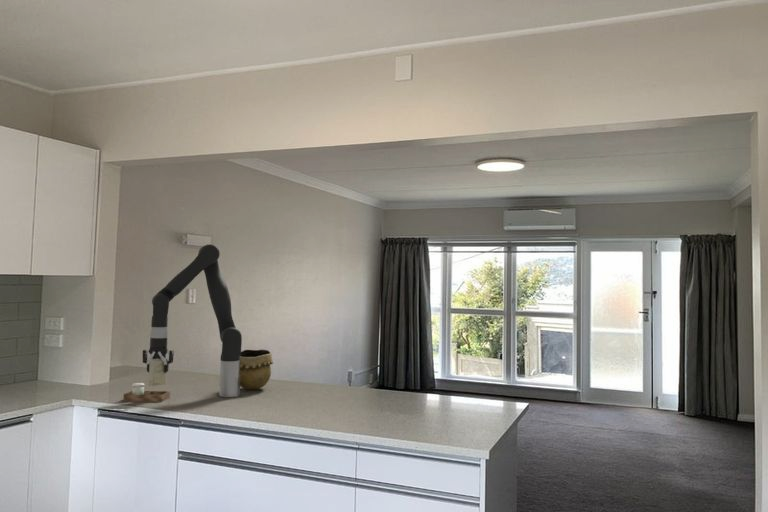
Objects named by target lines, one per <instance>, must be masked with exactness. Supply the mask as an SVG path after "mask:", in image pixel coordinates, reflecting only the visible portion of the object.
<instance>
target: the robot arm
mask: <svg viewBox="0 0 768 512" xmlns="http://www.w3.org/2000/svg"><path fill="white" fill-rule="evenodd" d="M220 255H221V254H220V249H219V248H218V246H217V245H214V244H205V245H203V246H201V247H200V249H198V254H197V256H196V257H195V258H194V259H193V260H192V261H191V262H190V263H189V264H188V265H187V266H186V267H185V268H184V269H182V270H181V271H179V272H178V273H177V274H176V275H175V276H174V277H173V278H172V279H170V281H168V283H167V284H166V285H165V286H164V287H163V288H162V289H161V290H159V291H158V292H157V293H156V294H155V295H154V296H153V297H152V299H151V304H152V316H151V325H150V326H151V328H150V334H149V336H150V337H149V338H150V339H149V349H143V350H142V363H144V364H146V372H147V373H148V374H149V365H150V360H151V359H157V358H158V359H162V361H163V362H164V364H165V365H164V373H166V374H168V372H169V368H170V367H169V365H170V364H172V363H173V362H174V353H175V350H174V349H171V350H168V338H169V337H168V334H169V333H168V319H169V318H168V315H169V308H170V307H169V306H170V302H171V301H172V300H173V299H174V298H175V297H176V296H178V295H179V294H180V293H181V292H183V291H184V289H186V287H188V285H190V284H191V283H192V282H193V281H194V279H195V278H197V276H198V275H199V274H201V273H202V271H203V272H204V275H205V280H206V287H207V290H208V295H209V299H210V302H211V307H212V309H213V312H214V316H215V317H216V320H217V326H218V331H219V338H220V342H221V343H222V345H221V354H220V364H219V365H220V366H219V391H218V392H219V393H218V394H219V397H221V398H236V397H239V396H240V395H241V386H240V375H239V371H240V355H241V351H242V346H243V345H242V342H243V341H242V340H243V338H242V337H243V336H242V332H241V331H240V330H239V329H238V328H237V327H236V325H235V322H234V319H233V316H232V302H231V301H232V300H231V296H230V293H229V288H228V285H227V282H226V281H225V278H224V276H223V274H222V273H221V270H220V267H219V266H220V265H219V261H218V259H219V258H220ZM148 354H150V356H149V357H148ZM167 355H168V357H167Z"/></svg>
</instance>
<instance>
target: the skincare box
mask: <svg viewBox="0 0 768 512" xmlns="http://www.w3.org/2000/svg"><path fill="white" fill-rule="evenodd" d="M164 365H165V364H164V362H163V361H162V359H158V358H157V359H151V360H150V365H149V373H148V386H150V387H159V386H166V375H167V373H164Z"/></svg>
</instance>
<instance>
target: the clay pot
mask: <svg viewBox="0 0 768 512" xmlns="http://www.w3.org/2000/svg"><path fill="white" fill-rule="evenodd" d="M273 364H274V361H273V356H272V352H271V351H270V350H268V349H263V348H262V349H249V348H248V349H247V348H246V349H244V350H241V355H240V371H239V375H240V388H243V389H245V390H249V391H250V390H251V391H254V390H259V389H261V388H264V387H265V386H266V385H267V383H268V382H269V381H270V378H271V375H272V371H271V370H272V369H271V365H273Z"/></svg>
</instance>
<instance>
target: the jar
mask: <svg viewBox="0 0 768 512" xmlns="http://www.w3.org/2000/svg"><path fill="white" fill-rule="evenodd" d="M131 389H132V390H131V391H132V394H144V391H145V383H144V382H134V383H132V387H131Z"/></svg>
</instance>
